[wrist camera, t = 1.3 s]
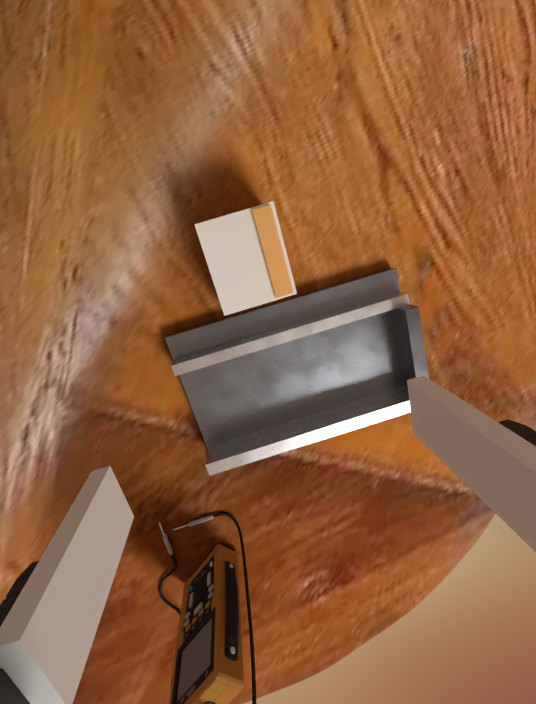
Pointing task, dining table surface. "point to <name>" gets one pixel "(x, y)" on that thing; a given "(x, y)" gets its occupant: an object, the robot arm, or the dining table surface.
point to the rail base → (300, 369)
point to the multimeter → (210, 629)
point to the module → (247, 258)
